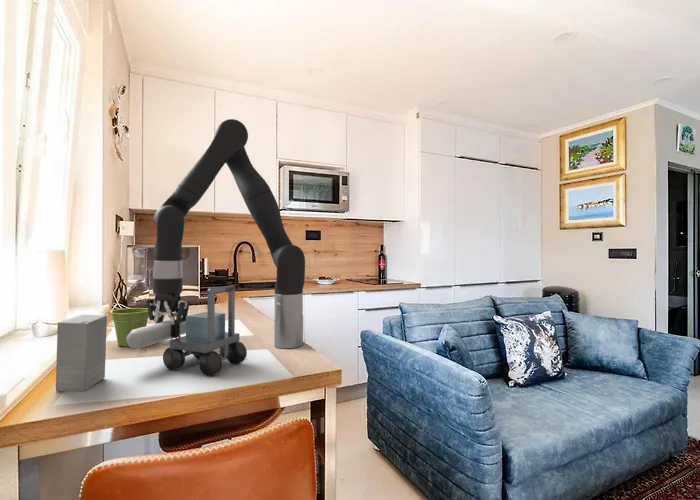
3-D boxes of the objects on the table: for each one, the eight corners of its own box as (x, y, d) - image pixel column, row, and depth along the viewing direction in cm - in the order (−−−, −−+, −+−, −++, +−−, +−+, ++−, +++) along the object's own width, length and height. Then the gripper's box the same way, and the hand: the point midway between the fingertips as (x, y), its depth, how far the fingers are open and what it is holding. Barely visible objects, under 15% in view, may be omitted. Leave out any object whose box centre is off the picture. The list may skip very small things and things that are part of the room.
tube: (140, 335, 90) (206, 316, 114) (124, 327, 91) (193, 310, 115) (135, 354, 91) (202, 332, 115) (119, 346, 92) (188, 325, 116)
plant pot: (156, 344, 120) (157, 310, 120) (115, 351, 112) (115, 314, 112) (144, 337, 128) (144, 306, 128) (105, 344, 120) (105, 310, 120)
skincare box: (78, 379, 88) (78, 314, 88) (109, 378, 89) (109, 313, 89) (52, 392, 80) (52, 321, 80) (87, 392, 80) (87, 320, 80)
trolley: (197, 356, 107) (197, 282, 107) (248, 363, 101) (248, 285, 101) (160, 369, 95) (160, 286, 95) (216, 378, 89) (216, 290, 89)
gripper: (197, 276, 104) (197, 336, 104) (160, 274, 109) (159, 331, 109) (177, 278, 97) (176, 342, 97) (137, 276, 102) (136, 337, 102)
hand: (167, 336), depth 103 cm, fingers closed on tube, 5 cm apart
